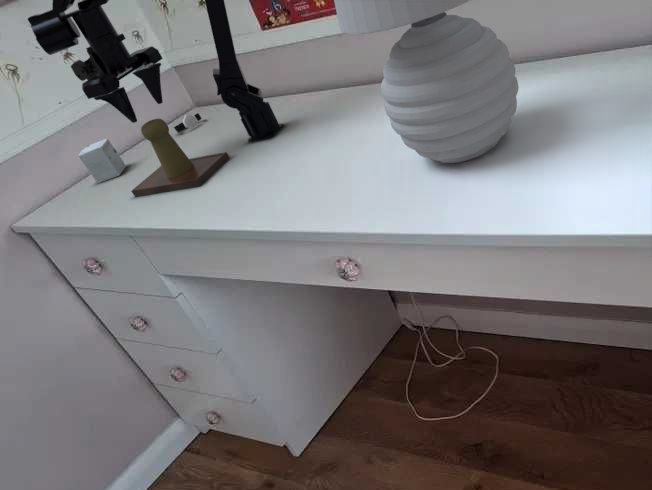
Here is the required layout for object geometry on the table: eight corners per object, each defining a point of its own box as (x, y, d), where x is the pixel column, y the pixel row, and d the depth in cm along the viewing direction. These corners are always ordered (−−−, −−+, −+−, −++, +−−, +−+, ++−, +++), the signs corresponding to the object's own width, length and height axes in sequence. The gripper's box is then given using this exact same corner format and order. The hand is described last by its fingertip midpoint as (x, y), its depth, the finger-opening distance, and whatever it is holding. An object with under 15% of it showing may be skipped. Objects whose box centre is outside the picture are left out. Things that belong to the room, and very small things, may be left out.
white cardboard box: (120, 175, 154) (100, 146, 149) (96, 184, 154) (76, 155, 149) (126, 165, 158) (108, 137, 154) (104, 174, 159) (84, 146, 154)
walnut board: (230, 158, 140) (226, 151, 139) (200, 186, 132) (195, 179, 131) (167, 169, 147) (163, 163, 146) (135, 197, 138) (130, 190, 137)
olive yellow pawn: (184, 175, 135) (153, 125, 128) (161, 180, 137) (130, 131, 130) (198, 161, 139) (169, 112, 132) (176, 166, 141) (146, 118, 134)
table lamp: (366, 177, 111) (252, -95, 86) (463, 109, 122) (387, -149, 97) (471, 196, 94) (369, -133, 69) (572, 115, 105) (515, -193, 80)
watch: (183, 135, 165) (175, 121, 162) (174, 135, 167) (166, 121, 165) (207, 121, 168) (199, 107, 166) (197, 121, 171) (190, 107, 169)
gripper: (101, 28, 135) (144, 101, 145) (39, 61, 122) (91, 139, 132) (141, 16, 131) (183, 91, 141) (81, 49, 118) (132, 129, 128)
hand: (148, 112), depth 136 cm, fingers open, 9 cm apart
